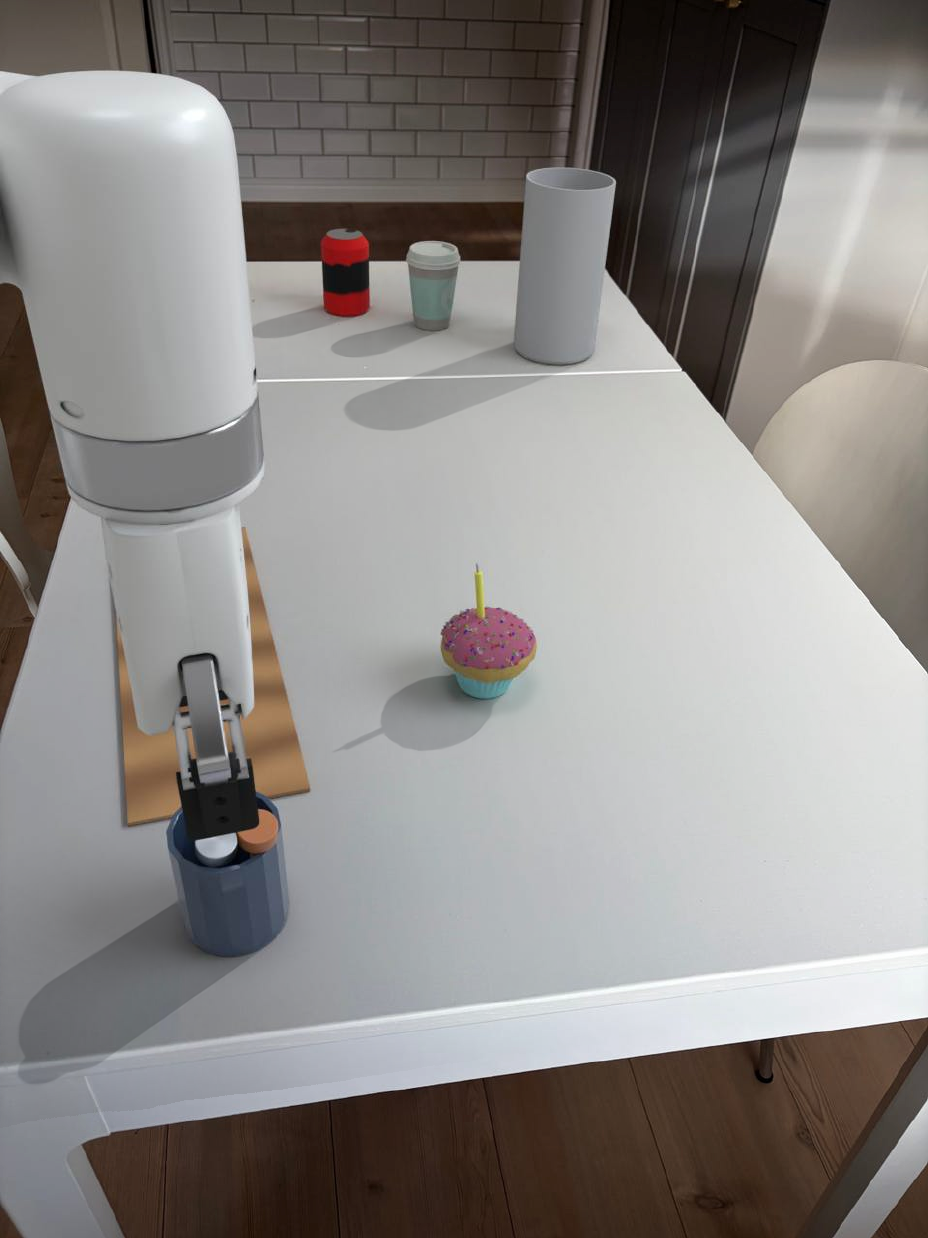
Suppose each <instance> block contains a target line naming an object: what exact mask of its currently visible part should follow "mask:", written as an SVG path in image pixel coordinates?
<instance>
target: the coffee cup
mask: <svg viewBox="0 0 928 1238" xmlns="http://www.w3.org/2000/svg"><path fill="white" fill-rule="evenodd" d="M405 262H406V263H407V268H408V280H409V288H410V299H411V309H412V317H413V324H414V326H415V327H416V328H418V329H420V330H424V331H431V332H432V331H436V332H437V331H442V330H446V329H448V328H449V327H450V325H451V319H452V313H453V306H454V299H455V294H456V293H455V291H456V287H457V279H458V272H459V266H460V265H461V263H462V261H461V255H460V253H459V249H458V247H457V246H456V245H454V244H452V243H449V242H445V241H438V240H425V241H418V242H415V243H412V244H411V245H410V246H409V249H408V252H407V253H406V259H405Z"/></svg>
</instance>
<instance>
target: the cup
mask: <svg viewBox="0 0 928 1238" xmlns="http://www.w3.org/2000/svg"><path fill="white" fill-rule="evenodd" d="M256 798H257V806H258V809H263V810H266V811H269V812H270V813H272V814H273V815H274V816H275V817H276V819H277V821H278V839H277V842H276V843H275V845H274V846H273V847H272V848H271V849H269V850H268V851H266V852H263V853H259V854H257V855H256V856H254V857H252V858H250V852H247V851H245V850H244V849H243V848H241V846H240V845H239V844H237V853H236V856H235V857H234V859H233V860H232V861H231V862H230V863H228V864H227V865H225V866H223V868H211V867H208V866H205V865H204V864H202V863H201V862H200V861H199V860H198V859H197V857H196V854H195V841H194V840H190V839H189V838H188V836H187V832H186V826H185V821H184V816H183V811H182V806H181V807H180V808H179V809H178V810H177V811H176V812H175V813H174V814H173V817H172V818H170V821H169V824H168V826H167V828H166V830H165V831H166V843H167V851H168V855H169V860H170V865H171V869H172V873H173V879H174V883H175V888H176V892H177V897H178V902H179V906H180V911H181V915H182V920H183V926H184V928H185V931H186V933H187V936H188V937H189V939H190V940H191V941H192V942H193V944H194V945H195V946H196V947H198V948H199V949H201V950H202V951H204V952H206V953H208V954H211V955H213V956H218V957H224V958H225V957H226V958H233V957H241V956H246V955H249V954H252V953H255V952H258V951H259V950H261V949H263V948H264V947H266V946H268V945H269V944H270V943H271V942H273V940H275V939H276V938H277V936H278V935H279V934H280V933H281V932H282V931H283V929H284V926H285V925H286V923H287V921H288V917H289V912H290V897H289V896H290V895H289V888H288V887H289V886H288V877H287V868H286V867H287V865H286V858H285V848H284V847H285V846H284V838H283V828H282V822H281V817H280V812H279V809H278V808H277V806H276V804H274V803H273V802H272V800H271V799H269V798H268V797H267V796H265V795H263V794H261V793H259V792H257V791H256ZM236 834H237V832H236Z"/></svg>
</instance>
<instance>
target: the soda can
mask: <svg viewBox="0 0 928 1238" xmlns="http://www.w3.org/2000/svg"><path fill="white" fill-rule="evenodd" d="M320 251H321V253H320V254H321V273H322V274H321V275H322V296H323V297H322V298H323V300H322V301H323V308H324V310H325V311H326V312H327V313H328V314H330V315H333V316H338V317H356V316H361V315H363V314H366V313H367V312H368V311H369V310H370V308H371V300H370V299H371V298H370V296H371V295H370V290H371V289H370V243H369V241H368V240H367V238H366V237H365V235H364V234H363V232H361V231H360V230H357V229H354V228H353V229H351V228H336V229H331V230H329V231H327V232H326V234H325V236H324V237H323V238H322V239H321V241H320Z"/></svg>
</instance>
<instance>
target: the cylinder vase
mask: <svg viewBox="0 0 928 1238" xmlns="http://www.w3.org/2000/svg"><path fill="white" fill-rule="evenodd" d="M616 185H617V181H616V179H615V178H614V177H612V176H611V175H609V174H606V173H603V172H599V171H595V170H591V169H585V168H579V167H578V168H577V167H545V168H538V169H534V170H530V171H529V172H527V173H526V176H525V190H524V201H523V215H522V225H521V226H522V229H521V241H520V243H521V244H520V251H519V252H520V253H519V254H520V255H519V269H518V279H517V293H516V304H515V305H516V307H515V318H514V319H515V321H514V330H513V332H514V334H513V347H514V349H515V350H516V352H517V353H518V354H519V355H521V357H523V358H525V359H527V360H530V361H532V362H537V363H540V364H545V365H554V366H555V365H556V366H564V365H573V364H578V363H581V362H584V361H586V360H588V359H589V358H590V357H591V356H592V355H593V354H594V352H595V349H596V342H597V341H596V340H597V335H598V334H597V333H598V327H599V326H598V325H599V317H600V310H601V301H602V294H603V286H604V279H605V271H606V262H607V256H608V248H609V239H610V231H611V230H610V229H611V225H612V218H613V217H612V216H613V209H614V200H615V193H616Z"/></svg>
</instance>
